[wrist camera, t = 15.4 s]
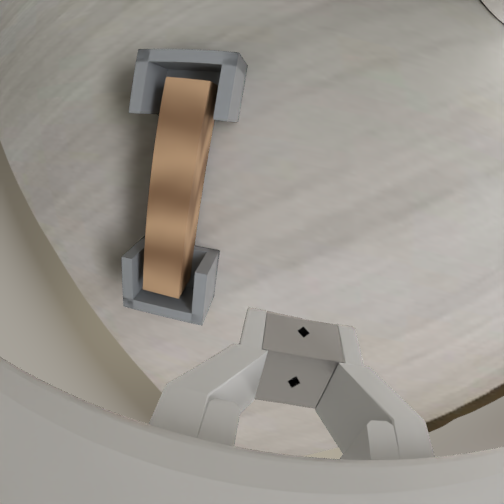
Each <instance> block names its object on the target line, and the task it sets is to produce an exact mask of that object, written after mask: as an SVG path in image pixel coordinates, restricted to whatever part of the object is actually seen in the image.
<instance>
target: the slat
mask: <svg viewBox="0 0 504 504" xmlns="http://www.w3.org/2000/svg"><path fill="white" fill-rule="evenodd" d="M217 91H218V85H217V84H215V83H213V82H211V81H206V80H197V79H187V78H175V77H166V80H165V85H164V90H163V96H162V101H161V107H160V113H159V119H158V125H157V132H156V139H155V146H154V153H153V161H152V169H151V177H150V187H149V196H148V207H147V219H146V232H145V248H144V268H143V289H144V290H147V291H151V292H155V293H158V294H162V295H166V296H170V297H174V298H178V299H179V297H180V295H181V294H182V292H183V290H184V288H185V287H186V285H187V283H188V282H189V280H190V277H191V268H192V260H193V253H194V245H195V237H196V230H197V223H198V216H199V209H200V203H201V196H202V190H203V183H204V177H205V171H206V165H207V159H208V153H209V147H210V142H211V136H212V131H213V125H214V120H213V117H214V110H215V104H216V97H217Z"/></svg>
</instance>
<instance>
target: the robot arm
mask: <svg viewBox="0 0 504 504" xmlns="http://www.w3.org/2000/svg"><path fill="white" fill-rule="evenodd" d="M481 1H482V2H483V3H484V4H485V6H486V7H487V8H488V9H489V10H490V11H491V12H492V13H493V14H494V15H495V16H496V17H497V18H498V19H499V20H500V21H501V22H503V23H504V0H481ZM254 399H257V400H263V401H270V402H277V403H284V404H290V405H296V406H302V407H308V408H315V410H316V412H317V414H318V415H319V417H320V418H321V420H322V422H323V423H324V425H325V426H326V428H327V430H328V431H329V433H330V434H331V436H332V437H333V439H334V441H335V442H336V444H337V445H338V447H339V448H340V450H341V451H342V453H343V455H342V457H341V458H340V459H327V458H314V457H303V456H294V455H285V454H278V453H270V452H264V451H258V450H252V449H246V448H240V447H235V446H234V444H235V438H236V433H237V427H238V422H239V416H240V413H241V412H243V411H244V410H245V409H246V408H247V407H248V406H249V405H250V404H251V403H252V402H253V401H254ZM0 504H504V446H503V447H499V448H494V449H489V450H483V451H477V452H471V453H464V454H457V455H450V456H441V457H435V456H434V452H433V449H432V445H431V441H430V437H429V433H428V430H427V426H426V423H425V420H424V419H423V418H422V417H421V416H420V415H419V414H418V413H417V412H415V411H414V410H413V409H412V408H411V407H410V406H409V405H408V404H407V403H406V402H405V401H404V400H403V399H402V398H401V397H400V396H399V395H398V394H397V393H396V392H395V391H394V390H393V389H392V388H391V387H390V386H389V385H388V384H387V383H386V382H385V381H384V380H383V379H381V378H380V377H379V376H378V375H377V374H376V373H375V372H374V371H373V370H372V369H371V368H370V367H369V366H364V363H363V359H362V354H361V350H360V346H359V342H358V337H357V333H356V329H355V328H354V327H353V326H347V325H339V324H330V323H324V322H318V321H312V320H306V319H302V318H298V317H293V316H288V315H284V314H279V313H274V312H270V311H267V312H266V310H261V309H256V308H251V307H248V309H247V313H246V317H245V321H244V326H243V330H242V334H241V338H240V343H239V345H238V344H232V345H231V346H229V347H227V348H226V349H224V350H223V351H221V352H219V353H218V354H216V355H214V356H213V357H211V358H210V359H208V360H206V361H205V362H203V363H201V364H200V365H198V366H196V367H195V368H193V369H191V370H189V371H188V372H186V373H184V374H183V375H181V376H179V377H178V378H176V379H174V380H172V381H171V382H169V383H167V384H166V386H165V388H164V390H163V393H162V395H161V397H160V399H159V402H158V404H157V406H156V409H155V411H154V413H153V415H152V418H151V420H150V422H149V424H146V423H143V422H140V421H137V420H134V419H131V418H129V417H125V416H123V415H120V414H117V413H115V412H112V411H110V410H107V409H104V408H102V407H99V406H97V405H94V404H92V403H90V402H87V401H85V400H82V399H80V398H78V397H76V396H74V395H71V394H69V393H67V392H65V391H62V390H60V389H58V388H56V387H54V386H52V385H50V384H48V383H46V382H44V381H42V380H40V379H38V378H36V377H35V376H33V375H31V374H29V373H27V372H25V371H23V370H22V369H20V368H18V367H16V366H15V365H13V364H11V363H9V362H8V361H6V360H4V359H3V358H1V357H0Z"/></svg>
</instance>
